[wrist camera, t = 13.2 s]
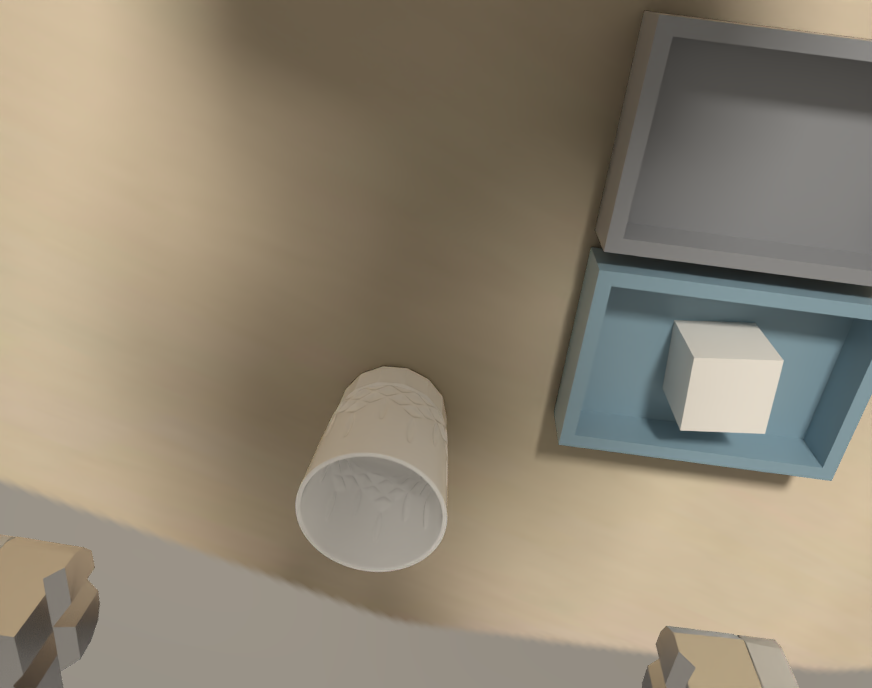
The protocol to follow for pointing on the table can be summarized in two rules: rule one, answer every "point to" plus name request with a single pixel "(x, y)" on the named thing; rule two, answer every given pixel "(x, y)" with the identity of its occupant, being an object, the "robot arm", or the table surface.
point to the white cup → (379, 474)
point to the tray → (744, 150)
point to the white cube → (721, 376)
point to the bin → (722, 302)
